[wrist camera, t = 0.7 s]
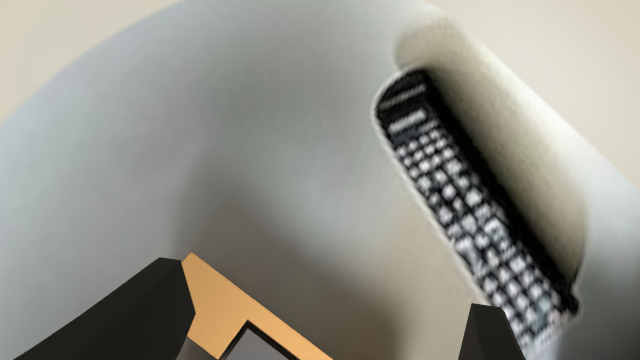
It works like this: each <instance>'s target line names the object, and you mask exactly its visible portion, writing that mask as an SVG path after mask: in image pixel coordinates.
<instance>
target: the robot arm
mask: <svg viewBox="0 0 640 360" xmlns="http://www.w3.org/2000/svg"><path fill="white" fill-rule="evenodd" d="M195 315H196V311H195V308H194V304H193V301H192V297H191V294H190V291H189V287H188V284H187V280H186V277H185V273H184V270H183V266H182V263H181V260H175V259H168V258H161V257H160V258H158V259H157V260H155V261H154V262H152V263H151V264H150V265H148V266H147V267H145V268H144V269H143V270H141V271H140V272H139V273H137V274H136V275H135V276H133V277H132V278H131V279H129V280H128V281H126V282H125V283H124V284H122V285H121V286H120V287H118V288H117V289H116V290H114V291H113V292H112V293H110V294H109V295H108V296H106V297H105V298H103V299H102V300H101V301H99V302H98V303H97V304H95V305H94V306H92V307H91V308H90V309H88V310H87V311H86V312H84V313H83V314H81V315H80V316H79V317H77V318H76V319H74V320H73V321H71V322H70V323H68V324H67V325H65V326H64V327H62V328H61V329H59V330H58V331H56V332H55V333H53V334H52V335H51V336H49V337H48V338H46V339H45V340H43V341H42V342H40V343H39V344H37V345H36V346H34V347H33V348H31V349H29V350H28V351H26V352H25V353H23V354H22V355H20V356H18V357H17V358H15V359H13V360H176V358H177V356H178V354H179V352H180V350H181V348H182V346H183V344H184V341H185V339H186V337H187V334H188V332H189V330H190V327H191V325H192V322H193V320H194V317H195ZM458 360H526V359H525V357H524V355H523V353H522V351H521V349H520V346H519V344H518V342H517V340H516V338H515V336H514V333H513V331H512V329H511V326H510V324H509V322H508V319H507V317H506V314H505V312H504V311H503V310H502V309H501V308H500V307H494V306H487V305H480V304H473V303H472V304H471V308H470V312H469V316H468V320H467V325H466V329H465V333H464V337H463V341H462V346H461V350H460V354H459V358H458Z"/></svg>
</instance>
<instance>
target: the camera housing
mask: <svg viewBox="0 0 640 360" xmlns="http://www.w3.org/2000/svg"><path fill="white" fill-rule="evenodd" d="M222 360H288V359H287V358H286V357H285V356H283V355H282V354H281V353H279V352H278V351H277V350H275V349H274V348H273V347H271V346H270V345H269V344H268V343H266V342H265V341H264V340H262V339H261V338H260V337H258V336H257V335H256V334H254V333H253V332H252V331H251V330H249V329H248V328H244V329H243V331H242V332H241V333H240V335H239V336H238V338H237V339H236V340H235V342H234V343H233V344H232V346H231V347H230V349H229V350H228V351H227V353H226V354H225V355H224V357H223V358H222Z"/></svg>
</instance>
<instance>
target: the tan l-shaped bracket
mask: <svg viewBox="0 0 640 360" xmlns="http://www.w3.org/2000/svg"><path fill="white" fill-rule="evenodd" d="M182 266H183V270H184V273H185V277H186V280H187V284H188V287H189V291H190V294H191V297H192V301H193V304H194V308H195V311H196V315H195V317H194V320H193V322H192V325H191V327H190V330H189V332H188V334H187V336H188V337H189V338H190V339H191V340H193V341H194V342H195V343H197V344H198V345H199V346H201V347H202V348H203V349H204V350H206V351H207V352H208V353H210V354H211V355H212V356H214V357H215V358H216V359H217V360H218V359H219V357H220V356H221V355H222V353H223V352H224V351H225V349H226V348H227V346H228V345H229V344H230V342H231V341H232V340H233V338H234V337H235V336H236V334H237V333H238V331H239V330H240V329H241V327H242V326H243V325H244V323H245V322H246V321H247V322H249V323H250V324H251V325H252V326H254V327H255V328H256V329H258V330H259V331H260V332H262V333H263V334H264V335H266V336H267V337H268V338H269V339H271V340H272V341H273V342H275V343H276V344H277V345H279V346H280V347H281V348H283V349H284V350H285V351H286V352H288V353H289V354H290V355H292V356H293V357H294V358H296V359H297V360H333V359H332V358H330V357H329V356H328V355H326V354H325V353H324V352H322V351H321V350H320V349H318V348H317V347H316V346H314V345H313V344H312V343H310V342H309V341H308V340H307V339H305V338H304V337H303V336H301V335H300V334H299V333H297V332H296V331H295V330H293V329H292V328H291V327H289V326H288V325H287V324H286V323H284V322H283V321H282V320H280V319H279V318H278V317H276V316H275V315H274V314H272V313H271V312H270V311H268V310H267V309H266V308H265V307H263V306H262V305H261V304H259V303H258V302H257V301H255V300H254V299H253V298H251V297H250V296H249V295H247V294H246V293H245V292H244V291H242V290H241V289H240V288H238V287H237V286H236V285H234V284H233V283H232V282H230V281H229V280H228V279H226V278H225V277H224V276H222V275H221V274H220V273H219V272H217V271H216V270H215V269H213V268H212V267H211V266H209V265H208V264H207V263H205V262H204V261H203V260H201V259H200V258H199V257H198V256H196V255H195V254H194V253H192V252H191V253H190V254H189V255H188V256H187V257H186V258H185V260H184V261H183V262H182Z"/></svg>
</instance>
